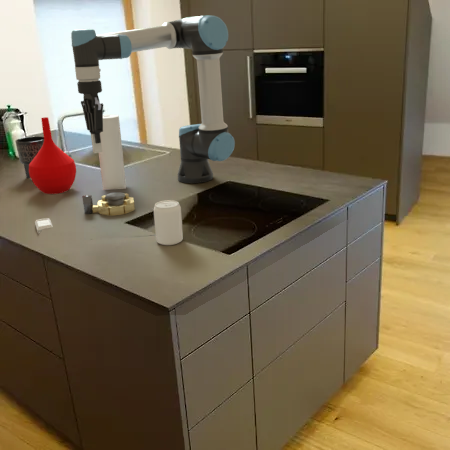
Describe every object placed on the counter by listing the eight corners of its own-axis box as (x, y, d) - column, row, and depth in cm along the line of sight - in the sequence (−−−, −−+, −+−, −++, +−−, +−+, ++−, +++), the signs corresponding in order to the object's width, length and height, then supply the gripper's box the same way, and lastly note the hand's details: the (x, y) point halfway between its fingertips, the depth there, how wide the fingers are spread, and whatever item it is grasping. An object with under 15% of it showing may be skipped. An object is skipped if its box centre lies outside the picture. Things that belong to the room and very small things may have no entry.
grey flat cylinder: (147, 205, 192) (145, 187, 189) (135, 224, 173) (133, 205, 171) (88, 206, 193) (86, 188, 191) (70, 225, 175) (67, 206, 172)
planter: (15, 181, 230) (8, 141, 224) (36, 173, 241) (29, 135, 235) (39, 183, 226) (32, 142, 219) (58, 175, 237) (52, 136, 230)
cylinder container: (121, 192, 209) (112, 117, 198) (99, 191, 211) (89, 117, 200) (129, 185, 217) (122, 113, 207) (108, 185, 219) (100, 113, 209)
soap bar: (38, 235, 168) (37, 227, 167) (35, 226, 176) (34, 219, 175) (54, 232, 170) (52, 225, 169) (50, 224, 178) (49, 216, 177)
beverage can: (156, 237, 162) (153, 200, 158) (182, 235, 163) (180, 198, 158) (155, 247, 155) (152, 209, 150) (183, 245, 155) (180, 207, 151)
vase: (60, 182, 226) (49, 113, 215) (88, 188, 216) (78, 115, 205) (23, 193, 212) (10, 119, 201) (51, 200, 202) (39, 123, 191)
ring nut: (133, 202, 191) (131, 186, 189) (135, 213, 179) (133, 196, 177) (84, 207, 187) (82, 191, 185) (84, 218, 176) (81, 201, 174)
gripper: (108, 80, 165) (116, 153, 173) (91, 78, 174) (100, 147, 183) (85, 82, 160) (95, 157, 169) (70, 80, 170) (79, 151, 179)
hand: (97, 152), depth 176 cm, fingers closed
